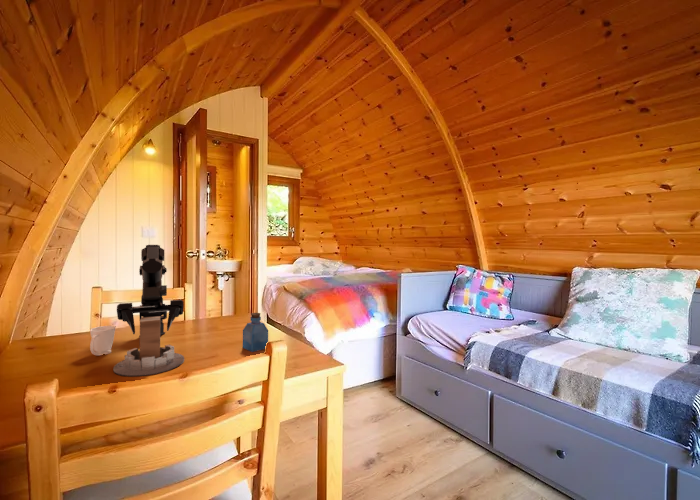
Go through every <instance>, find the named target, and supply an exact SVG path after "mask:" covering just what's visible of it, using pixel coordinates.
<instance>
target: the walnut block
mask: <svg viewBox="0 0 700 500" xmlns="http://www.w3.org/2000/svg"><path fill="white" fill-rule="evenodd" d="M139 336H140V337H139V350H140V360H142V357H144V356H153V355H155V359H156V358H159V357H160V347H161V335H160V316H159V317H146V318H141V320H140V319H139Z"/></svg>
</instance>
